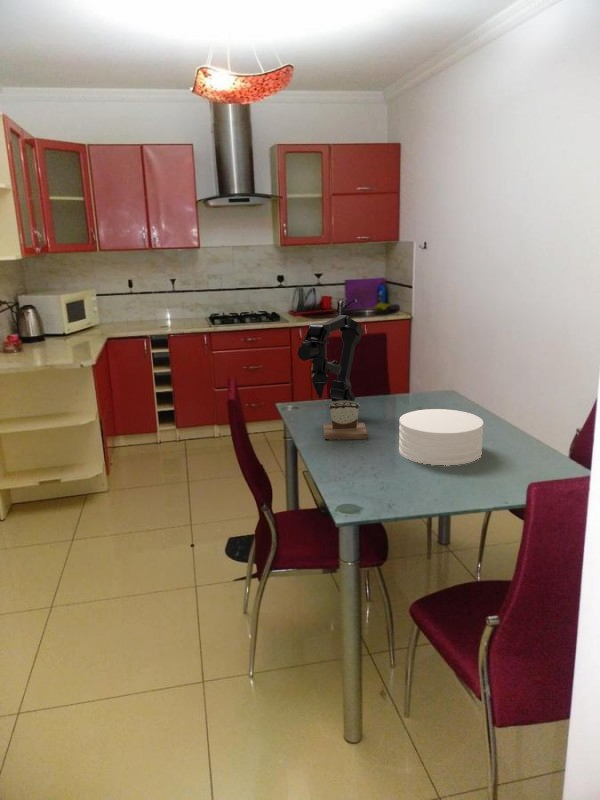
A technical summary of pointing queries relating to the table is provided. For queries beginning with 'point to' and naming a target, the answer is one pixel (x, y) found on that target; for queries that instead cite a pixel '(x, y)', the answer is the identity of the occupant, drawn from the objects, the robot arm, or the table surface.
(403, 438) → the plate stack
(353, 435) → the walnut block
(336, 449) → the table surface
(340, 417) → the food container
